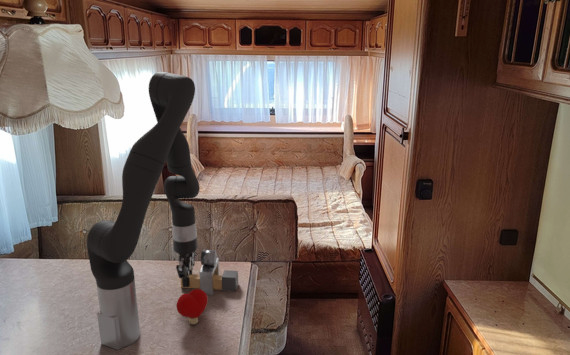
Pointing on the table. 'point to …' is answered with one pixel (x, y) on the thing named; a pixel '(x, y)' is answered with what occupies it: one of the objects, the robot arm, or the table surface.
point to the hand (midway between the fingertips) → (187, 283)
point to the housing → (208, 270)
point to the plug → (217, 281)
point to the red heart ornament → (192, 305)
